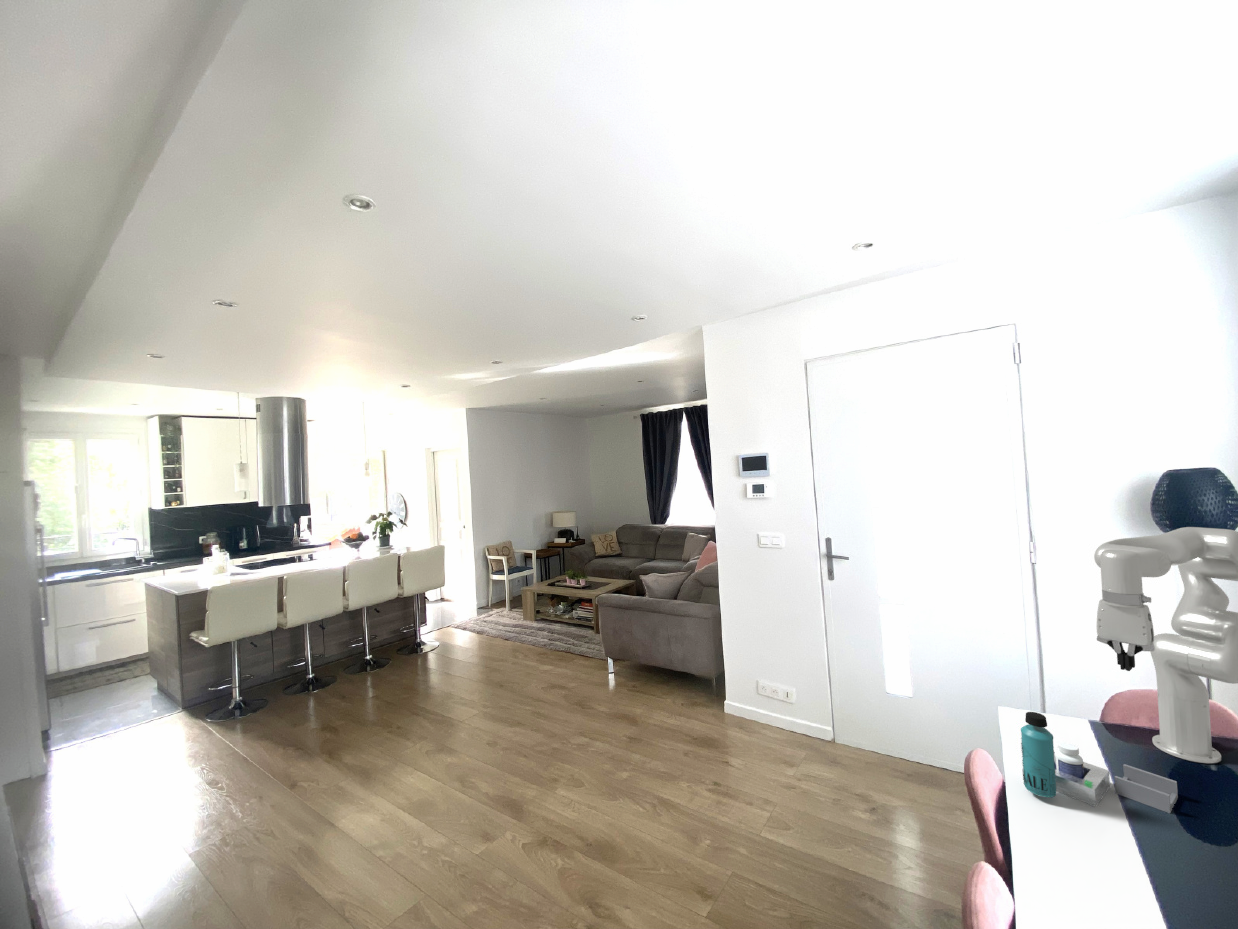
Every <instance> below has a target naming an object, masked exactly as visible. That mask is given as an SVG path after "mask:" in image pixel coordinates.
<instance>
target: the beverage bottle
mask: <svg viewBox="0 0 1238 929" xmlns="http://www.w3.org/2000/svg"><path fill="white" fill-rule="evenodd" d="M1024 721H1025V723H1026V725H1024V726H1022V727H1021V728H1020V735H1021V738H1020V740H1021V742H1020V749H1021V751H1020V753H1021V758H1022V759H1021V764H1022V767H1021V768H1022V777H1023V778H1022V780H1023V782H1022V783H1023V786H1024V788H1025V789H1026V790H1027V791H1028V792H1030V793H1031V794H1034V795H1036V796H1038V797H1043V798H1054V797H1056V796H1057V791H1056V777H1055V776H1056V774H1055V765H1054V752H1055V749H1054V748H1055V747H1054V735H1053V734H1052V733H1051V732H1050V731H1049V730H1048V729H1047V727H1048V721H1047V717H1046V716H1045V715H1044V714H1042V713H1040V712H1035V711H1027V712H1025V720H1024Z"/></svg>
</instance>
